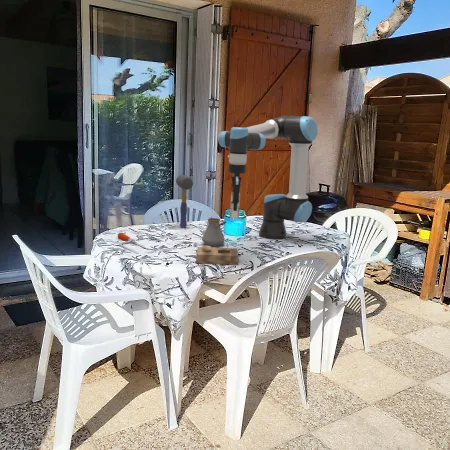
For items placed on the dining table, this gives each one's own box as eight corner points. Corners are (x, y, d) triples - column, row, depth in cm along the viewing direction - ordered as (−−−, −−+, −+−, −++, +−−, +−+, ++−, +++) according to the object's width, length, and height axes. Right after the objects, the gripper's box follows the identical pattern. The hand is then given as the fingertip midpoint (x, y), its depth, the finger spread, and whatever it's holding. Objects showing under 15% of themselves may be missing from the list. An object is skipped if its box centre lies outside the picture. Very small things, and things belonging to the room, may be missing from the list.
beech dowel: (238, 216, 206) (240, 192, 204) (239, 218, 202) (240, 193, 200) (229, 216, 206) (230, 191, 204) (229, 218, 202) (231, 193, 200)
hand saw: (158, 248, 214) (140, 252, 207) (158, 255, 215) (140, 259, 208) (122, 231, 237) (104, 234, 230) (122, 237, 238) (104, 240, 231)
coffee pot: (198, 242, 235) (199, 213, 231) (219, 240, 239) (220, 212, 236) (213, 253, 215) (214, 222, 212) (235, 252, 220) (237, 221, 216)
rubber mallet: (192, 229, 260) (194, 176, 254) (179, 230, 258) (181, 176, 251) (186, 224, 272) (187, 174, 265) (174, 225, 269) (175, 174, 262)
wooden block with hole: (236, 256, 212) (237, 244, 211) (237, 264, 200) (238, 251, 199) (197, 255, 211) (197, 242, 210) (196, 263, 200) (196, 249, 198)
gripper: (228, 161, 208) (225, 212, 212) (229, 164, 191) (226, 220, 196) (244, 162, 208) (241, 213, 213) (247, 165, 191) (243, 221, 196)
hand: (234, 216), depth 204 cm, fingers closed on beech dowel, 4 cm apart
